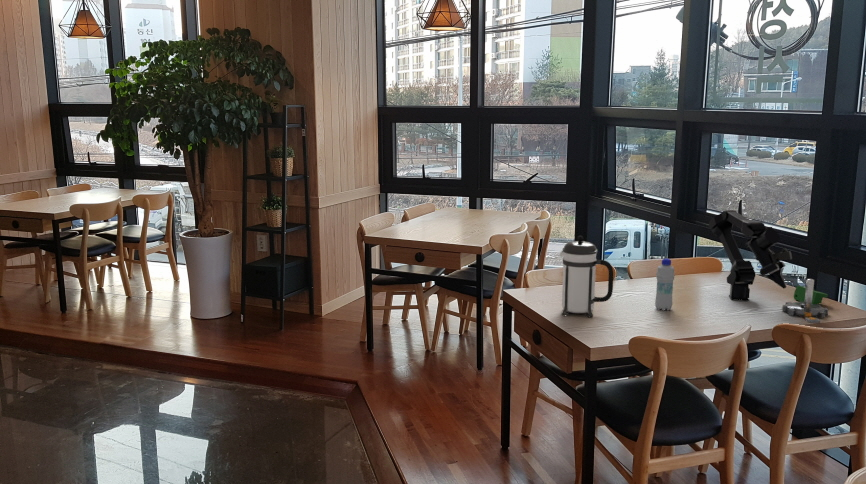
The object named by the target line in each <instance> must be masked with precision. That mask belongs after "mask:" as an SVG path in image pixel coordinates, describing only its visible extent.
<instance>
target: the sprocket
mask: <svg viewBox="0 0 866 484" xmlns="http://www.w3.org/2000/svg"><path fill="white" fill-rule="evenodd" d="M805 284H806V286H805V287H806V292H805V302H801V301H796V302H792V301H787V302H785V304H782V306H781V310H782V312H786V313H787V314H788V315H789V316H791V317H792V316H793V317H794V316H796V317H802V318H804V319H805V318H810V317H813V318H818V319H824V318H826V316H827V315H828V314H829V309H828V308H827V307H823V306H822V305H821V304H812V296H813V289H814V287H815V286H814V285H815V279H813V278H806V283H805ZM825 314H827V315H825Z"/></svg>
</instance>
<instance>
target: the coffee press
mask: <svg viewBox="0 0 866 484" xmlns="http://www.w3.org/2000/svg"><path fill="white" fill-rule="evenodd" d="M576 239H577V240H574V241H569V242H567V243H565V244H564V247H563V248H562V250H561V252H560V253H559V254H558V257H562V287H561V289H562V291H561V293H562V294H561V307H562V308H563V310H562V312H561V315H562V316H563V315H567V316H568V315H569V314H570V313H572V314H585V315H586V316H587V317H588V316H590V318H593V317H594V314H593V312H592V311H593V310H594V308H595V303H603V302H607V301H609V300H610V299H611V297H612V296H613V290H614V269H613V266H612V264H611V263H610V262H609V261H608V260H604V259H597V254H598V248H597V246H596V245H595V244H594V243H592V242H589V241H585V240H584V239H585V238H584V237H583V235H578V236H577V237H576ZM597 265H601V266H605V267H606V268H607V271H608V282H607V283H608V284H607V293H606V295H605V296H602V297H601V296H595V294H596V293H595V292H596V290H595V289H596V271H597V270H596V266H597Z"/></svg>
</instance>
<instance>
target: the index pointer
mask: <svg viewBox="0 0 866 484" xmlns="http://www.w3.org/2000/svg"><path fill="white" fill-rule="evenodd" d="M804 320H805V321H806V322H807V323H813V324H815V323H816V324H819V323H821V320H820V318H819V317H816V318H813V317H810V318H805V317H804Z"/></svg>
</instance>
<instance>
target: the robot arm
mask: <svg viewBox="0 0 866 484" xmlns="http://www.w3.org/2000/svg"><path fill="white" fill-rule="evenodd" d="M708 226H709V230H711V233H712V234H713V235H715V236H716V237H717V238H719V241H720V242H721V245H722V246H723V249H724V251H725V253H726V255H727V258H728V260H729V262H730V264H731V268H730V271H729V274H728V276H727V277H726V283H727V284H729V285H730V288H729V294H728V297H729V299H730V300H731V301H746V302H748V301H749V299H750V293H751V292H750V291H751V289H750V286H753V284H754V281H755V278H756V271H755V267H754V266H753V264H752V262H751V261H750V260H745V259H744V257H743V255H742V253H741V251H740V249H739V247H738V245H737V243H736V240H735V238H734V235H733V234H732V231H733V226H736V228H739V229H740V230H741V231H740V232H741V234H743V235H744V236H745V237H746V238H749V239H747V240H746V241H745V242H746V243H745V245H744V246H745V248H749V249H750V250H751V252H752V254H753V255H754V256H755V260H756V261H757V262H758V263H759V264H760V266H761V268H760V270H759V274H760V275H761V276H762V277H764V276H765V277H767V278H768V279H769V280H771V281H772V282H774V283H775V284H777V286H779V287H781V288H782V289H787V285H786V281H785V278H784V275H783V271H784V268H785V267H786V264H785V263H784V261H785V260H786V261H788V260H789V261H790V260H793V256H792V254H793V253H792V252H791V250H788V249H787V248H784V249H781V251H780V252H776V253H775V252H774V251H773V250H771V249H770V248H771V247H772V246H774V245H777V244H778V243H779V242H780V239H781V237H780V234H779V233H778V232H777V231H776V230H774V229H773V226H766V225H765V224H764V222H762V221H759V220H751V219H749V218H747V217H745V216H744V215H742V214H740V213H739V212H738V211H737V210H734V209H727V210H726V209H725V210H723V211H722V212H721V213H719V214H717V215H714V216H713V217H712V218H711V219H710V220H709V223H708ZM749 285H750V286H749Z"/></svg>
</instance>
